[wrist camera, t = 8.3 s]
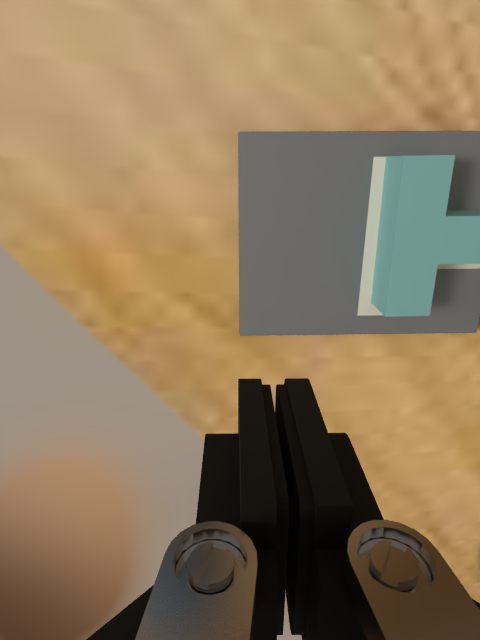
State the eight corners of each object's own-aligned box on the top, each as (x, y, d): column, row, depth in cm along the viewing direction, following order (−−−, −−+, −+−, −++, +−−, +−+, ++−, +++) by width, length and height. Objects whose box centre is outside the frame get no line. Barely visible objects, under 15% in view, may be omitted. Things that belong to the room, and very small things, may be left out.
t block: (471, 300, 31) (496, 314, 28) (370, 302, 30) (385, 316, 28) (500, 154, 27) (531, 153, 24) (386, 156, 27) (404, 155, 24)
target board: (469, 327, 32) (476, 332, 32) (239, 330, 32) (239, 335, 31) (510, 132, 27) (519, 130, 27) (238, 132, 27) (238, 131, 26)
